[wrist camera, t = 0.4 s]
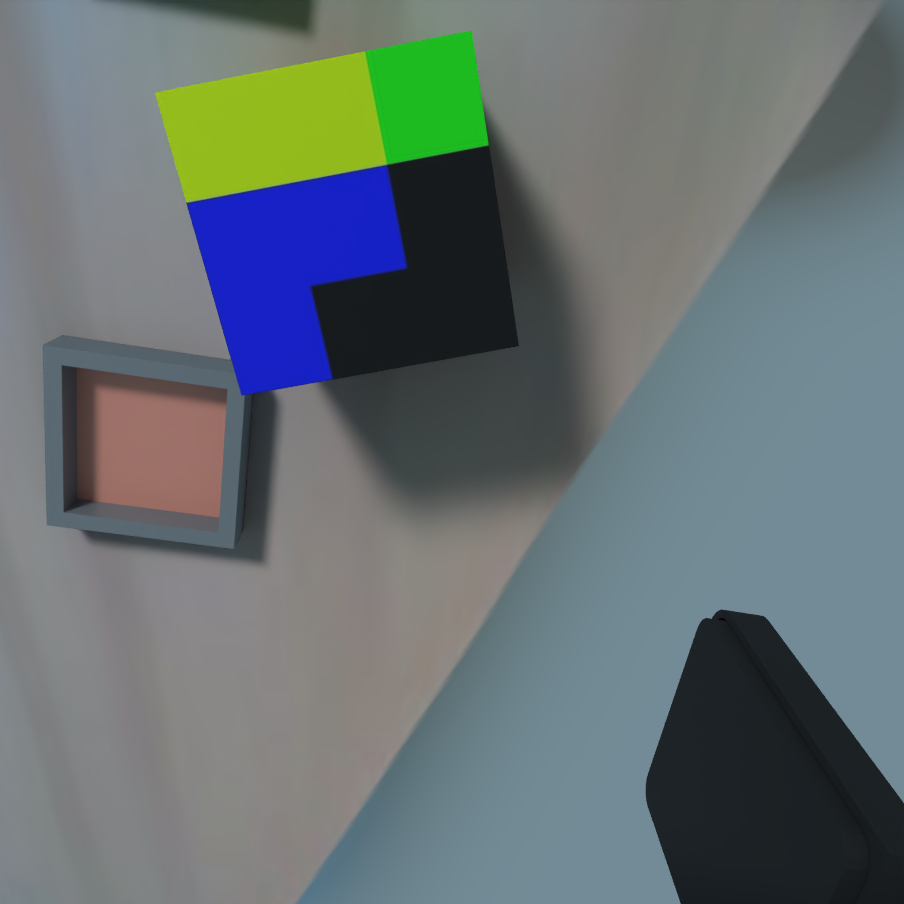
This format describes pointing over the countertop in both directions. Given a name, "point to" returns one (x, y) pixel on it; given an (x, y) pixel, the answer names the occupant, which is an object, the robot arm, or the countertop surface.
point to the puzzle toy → (346, 212)
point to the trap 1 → (144, 442)
